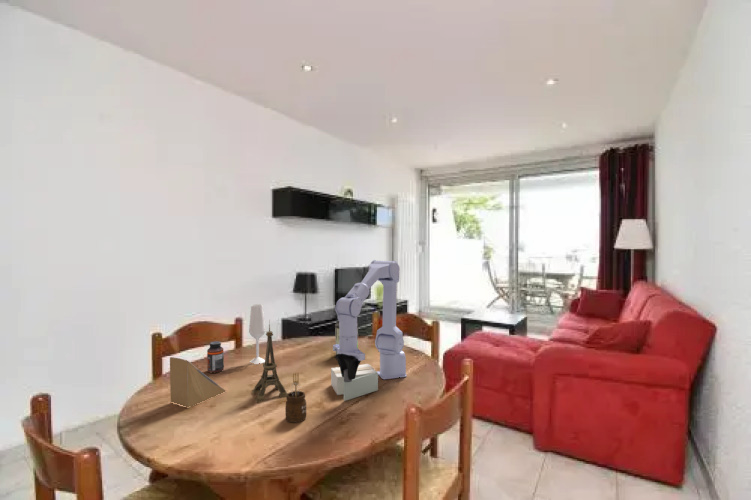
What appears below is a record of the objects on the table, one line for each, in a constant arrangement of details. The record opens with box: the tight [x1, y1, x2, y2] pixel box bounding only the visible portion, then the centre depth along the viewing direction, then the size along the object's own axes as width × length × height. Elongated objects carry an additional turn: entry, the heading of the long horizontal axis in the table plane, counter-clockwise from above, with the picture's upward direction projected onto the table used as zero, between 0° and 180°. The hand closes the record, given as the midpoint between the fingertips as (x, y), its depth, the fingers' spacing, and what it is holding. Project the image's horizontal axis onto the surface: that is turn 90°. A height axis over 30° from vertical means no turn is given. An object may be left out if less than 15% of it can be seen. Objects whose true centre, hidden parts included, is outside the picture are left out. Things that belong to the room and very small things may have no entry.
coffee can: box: [334, 322, 359, 355], centre depth 171 cm, size 10×10×14 cm
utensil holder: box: [284, 373, 307, 423], centre depth 110 cm, size 6×6×12 cm
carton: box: [330, 363, 377, 396], centre depth 134 cm, size 14×10×6 cm
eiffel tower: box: [251, 319, 289, 403], centre depth 128 cm, size 11×11×25 cm
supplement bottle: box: [206, 340, 225, 373], centre depth 151 cm, size 6×6×11 cm
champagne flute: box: [248, 303, 267, 365], centre depth 162 cm, size 7×7×24 cm
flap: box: [343, 369, 379, 402], centre depth 126 cm, size 14×3×10 cm, turn 129°
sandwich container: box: [169, 356, 227, 407], centre depth 125 cm, size 9×15×15 cm, turn 153°
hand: (348, 377), depth 122 cm, fingers open, 3 cm apart
